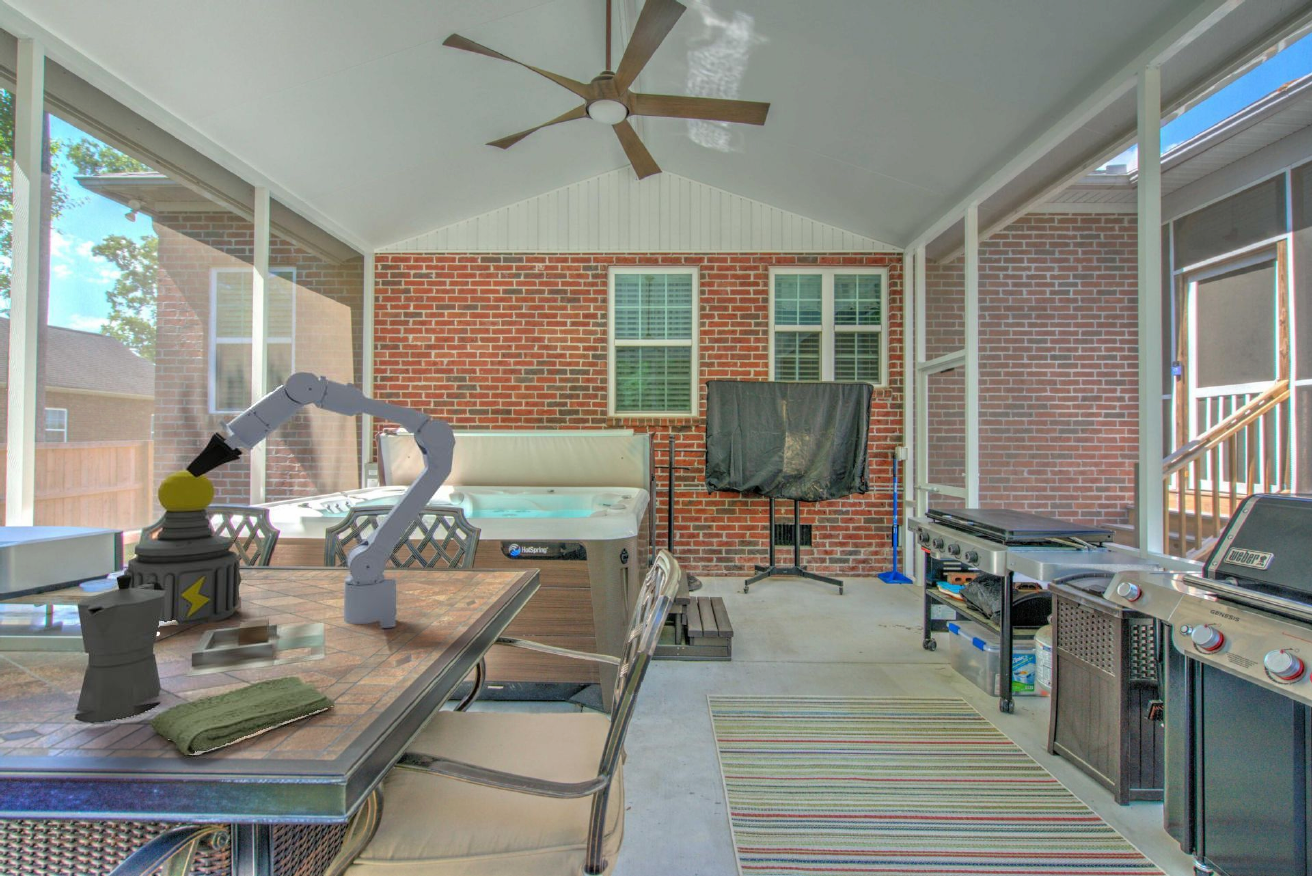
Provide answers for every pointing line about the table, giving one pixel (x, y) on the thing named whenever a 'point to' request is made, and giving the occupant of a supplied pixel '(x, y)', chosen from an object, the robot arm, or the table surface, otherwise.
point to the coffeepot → (120, 651)
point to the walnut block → (253, 632)
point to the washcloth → (238, 713)
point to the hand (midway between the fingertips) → (193, 471)
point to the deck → (254, 649)
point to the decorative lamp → (188, 556)
